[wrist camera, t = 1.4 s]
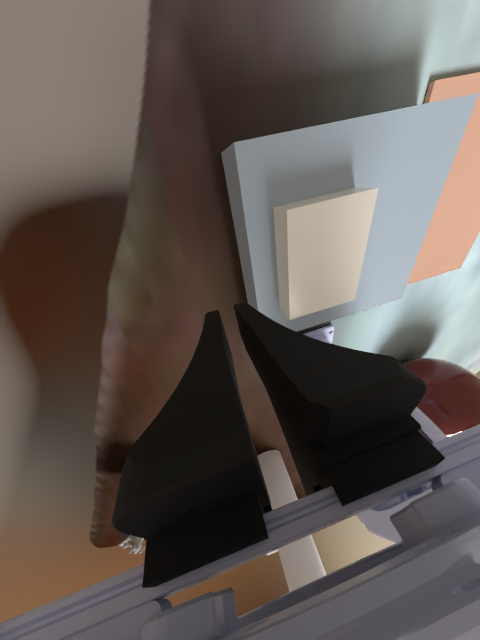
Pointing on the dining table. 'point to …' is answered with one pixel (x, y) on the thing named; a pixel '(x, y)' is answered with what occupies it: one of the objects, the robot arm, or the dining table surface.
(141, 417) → the dining table surface
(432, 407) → the round-bottom flask
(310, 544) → the white tall block
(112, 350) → the dining table surface
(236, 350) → the dining table surface
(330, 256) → the tile
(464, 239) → the mat
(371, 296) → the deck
